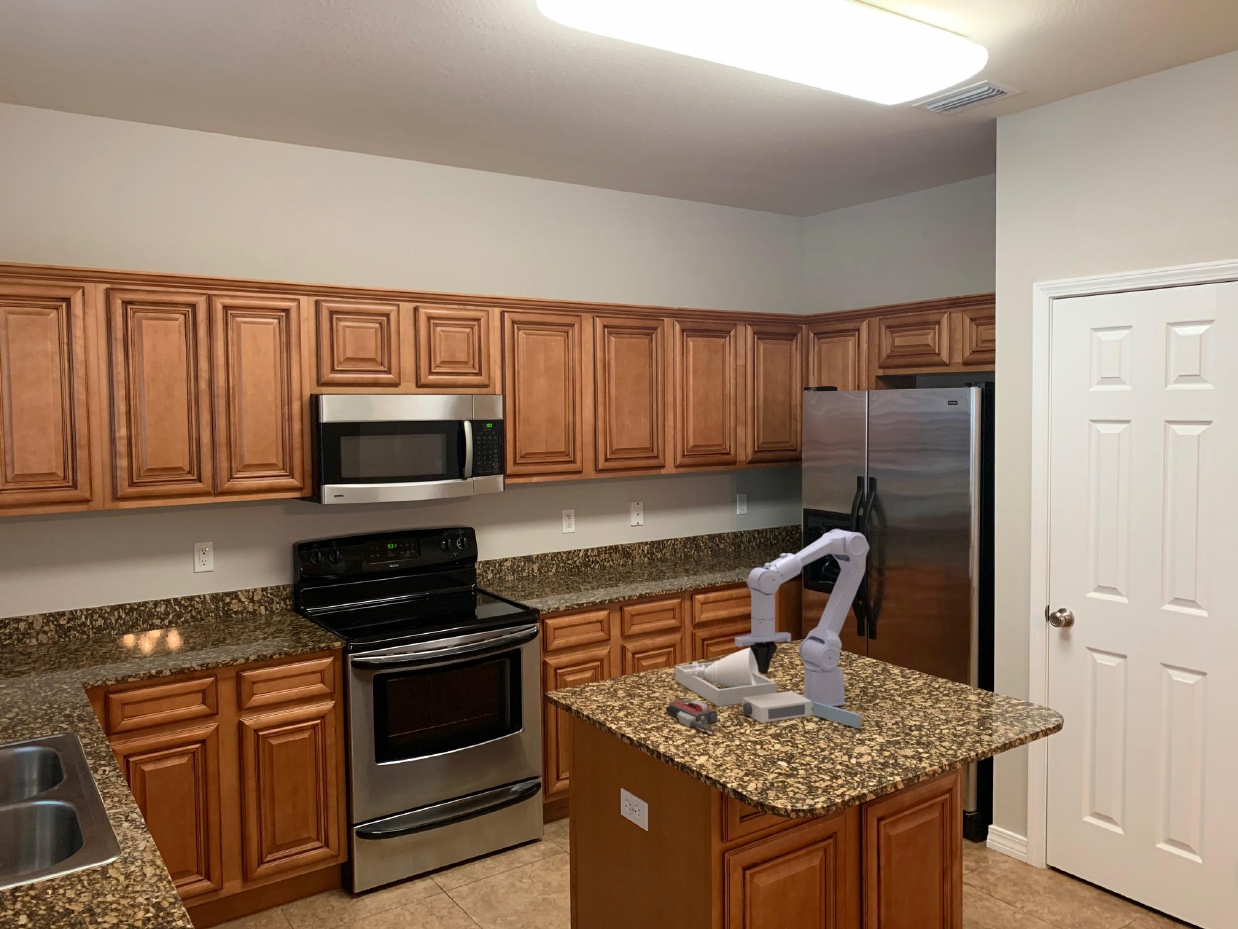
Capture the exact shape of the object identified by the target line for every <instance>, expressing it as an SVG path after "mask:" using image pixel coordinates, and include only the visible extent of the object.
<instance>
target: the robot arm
mask: <svg viewBox="0 0 1238 929" xmlns="http://www.w3.org/2000/svg"><path fill="white" fill-rule="evenodd" d="M869 550H870V545H869V543H868V541H867V539H866V536H865V535H864V534H862V533H861V532H858V531H857V532H855V531H854V532H852V531H849V530H848V531H847V530H843V529H840V528H834V529H832V530H830V531H828V532H826V533H824V534H823V535H822V536H821V537H820V538H818V539H817V540H815V541H814V542H812V543H811V544H809V545H807V546H806V547H805V548H803V549H801V550H800V551H798V552H797V553H795V554H793V553H790V552H788V553H784V552H783V553H781V554H779V558H777V559H775V560H773V561H771V562H766V563H764V566H763V567H755V568H753V569H752V570H751V571H750V573H749V574H748V577H747V578H746V580H745V582H746V584H747V587H748V588H749V590H750V596H751V597H750V600H751V601H750V604H751V605H750V608H751V609H750V611H751V614H750V616H751V618H750V619H751V620H750V622H751V624H750V625H751V626H750V627H751V632H750V634H747V635H743V636H737V637H734V646H736V647H738V648H742V647H746V646H749V648H751V650H752V652H753V654H754V656H755V659H756V662H757V668H758V674H760V675H767V674H768V673H769V669H770V665H771V662H772V659H773V656H774V655H775V653H776V651H777V650H778V645H777V644H776V643H781V642H783V643H784V642H788V643H789V642H790V643H791V641H792V633H790V632H787V631H784V632H776V592H777V591H778V590H779V589H780V585H782V584H784V583H786V582H787V581H790V580H791V579H793V578H794V577H797V576H798V575H800V574H801V571H802V569H803V567H804V566H805V565H808V564H810V563H812V562H814V561H817V560H818V559H820V558H822V557H824V556H827V555H832V556H833V558H834V559H835V560H836V561H837V562H838V566H839V568H840V571H839V572H840V573H839V575H838V577H837V580H836V581H835V584H834V586H833V589H832V592H831V594H830V595H829V599H828V601H827V603H826V606H825V608H824V611H823V612H822V615H821V616H820V617H821V618H820V620H819V621H818V622H819V623H818V625H817V626H816V627H814V628H813V629H812V630H810V631H809V632H808V634H807V636H806V638H805V639H803V641H801V642H800V645H799V648H798V655H799V658H800V659H801V660H802V661H803V666H804V668H803V670H804V672H803V673H804V674H803V675H804V679H803V680H804V681H803V683H804V689H803V690H804V692H803V693H804V694H803V697H805V698H807V699H809V700H811V701H812V709H813V702H818V703H821V704H825V705H828V706H832V707H837V706H838V707H839V706H843V705H847V702H846V701H845V677H844V672H843V670H842V669H841V667H839V666H838V664H839V662H840V658H841V657H840V656H841V649H842V646H843V645H842V641H841V638H840V636H839V635H840V633H841V630H842V628H843V626H844V623H845V621H846V618H847V616H848V613H849V611H850V608H851V605H852V604H853V601H854V600H855V597H856V594H857V591H858V589H859V586H860V584H861V582H862V579H863V577H864V575H865V572H866V563H867V562H866V559H867V555H868V552H869Z"/></svg>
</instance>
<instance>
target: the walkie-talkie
mask: <svg viewBox="0 0 1238 929" xmlns="http://www.w3.org/2000/svg"><path fill="white" fill-rule="evenodd" d="M665 710H666V711H667V712H669V715H671V716H673V717H676V718H677V719H678V723H680V724H682V725H684V726H686V727H687V728H692V727H696V728H698V729H701V730H703V731H708V732H710V733H713V734H714V733H715V729H714V728H711V727H709V726H707V724H712V723H713V724H714V723H717V722H718V710H715V709H713V708H710V707H709V705H708V704H707V703H705V702H703V701H700V700H692V699H691V698H688V699H687V698H684V699H678V700H675V701H671V702H670V704H669V706H666V707H665Z"/></svg>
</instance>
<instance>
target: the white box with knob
mask: <svg viewBox="0 0 1238 929" xmlns="http://www.w3.org/2000/svg"><path fill="white" fill-rule="evenodd" d="M741 711H742V713H743V714H744V716H749V717H751V719H753V720H756V721H757V722H759V723H763V724H764V723H768V722H776V721H782V720H790V719H795V718H796V719H797V718H803V717H810V716H813V708H812V701H811V700H809V699H807V698H805V697H804V695H803V696H802V695H801V694H799V693H796V692H795V691H792V690H789V691H783V692H777V693H773V694H765V695H758V696H750V697H743V698H742V703H741Z"/></svg>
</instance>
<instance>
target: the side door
mask: <svg viewBox="0 0 1238 929" xmlns="http://www.w3.org/2000/svg"><path fill="white" fill-rule="evenodd" d="M812 716H816V717H818V718H822V719H826V720H830V721H833V722H836V723H839V724H843V725H847V726H850V727H854V728H857V729H861V728H862V725H864V716H862V714H860V713H857V712H853V711H849V710H847V709H844V708H843V709H842V708H838V707H836V706H828V705H825V704H821V703H818V702H813V708H812Z"/></svg>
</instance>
